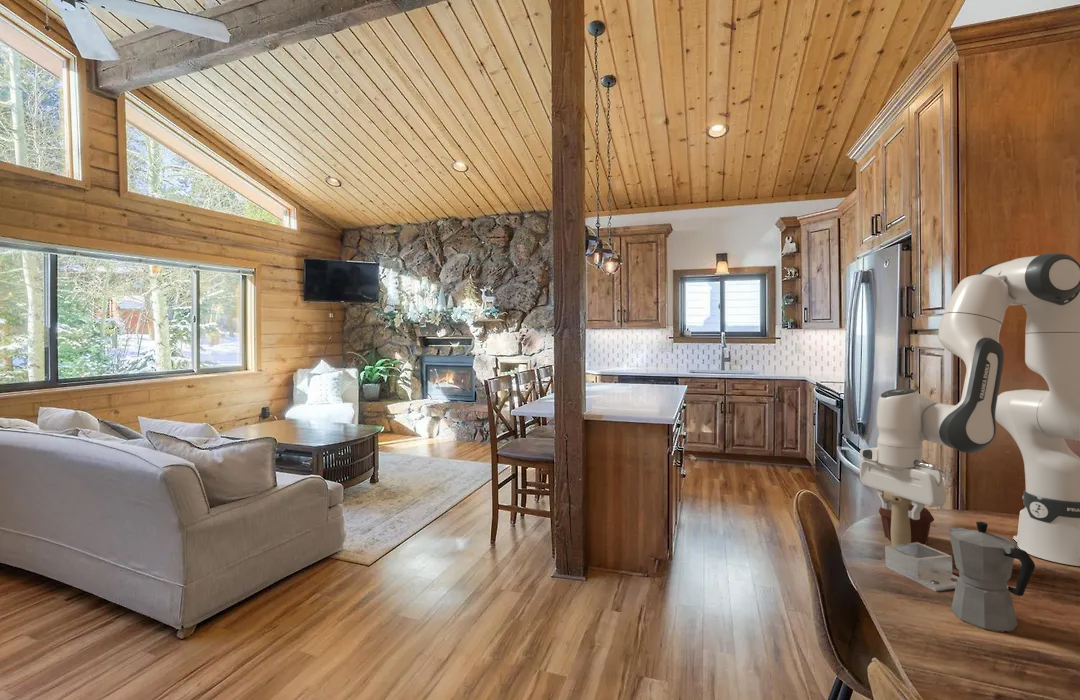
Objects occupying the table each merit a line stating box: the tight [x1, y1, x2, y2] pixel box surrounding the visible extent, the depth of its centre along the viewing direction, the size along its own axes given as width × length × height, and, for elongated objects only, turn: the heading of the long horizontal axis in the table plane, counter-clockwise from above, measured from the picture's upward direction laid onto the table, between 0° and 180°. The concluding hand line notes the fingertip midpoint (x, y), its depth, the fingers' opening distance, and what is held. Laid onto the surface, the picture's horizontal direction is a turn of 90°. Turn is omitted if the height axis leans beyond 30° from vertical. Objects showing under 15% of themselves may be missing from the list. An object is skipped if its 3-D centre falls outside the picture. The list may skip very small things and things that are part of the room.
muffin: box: [878, 504, 935, 545], centre depth 130 cm, size 12×11×10 cm
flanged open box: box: [884, 542, 959, 592], centre depth 110 cm, size 9×12×5 cm
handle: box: [884, 491, 912, 545], centre depth 121 cm, size 5×6×15 cm
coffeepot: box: [947, 521, 1036, 633], centre depth 92 cm, size 15×9×18 cm, turn 6°
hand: (900, 513), depth 121 cm, fingers open, 6 cm apart
